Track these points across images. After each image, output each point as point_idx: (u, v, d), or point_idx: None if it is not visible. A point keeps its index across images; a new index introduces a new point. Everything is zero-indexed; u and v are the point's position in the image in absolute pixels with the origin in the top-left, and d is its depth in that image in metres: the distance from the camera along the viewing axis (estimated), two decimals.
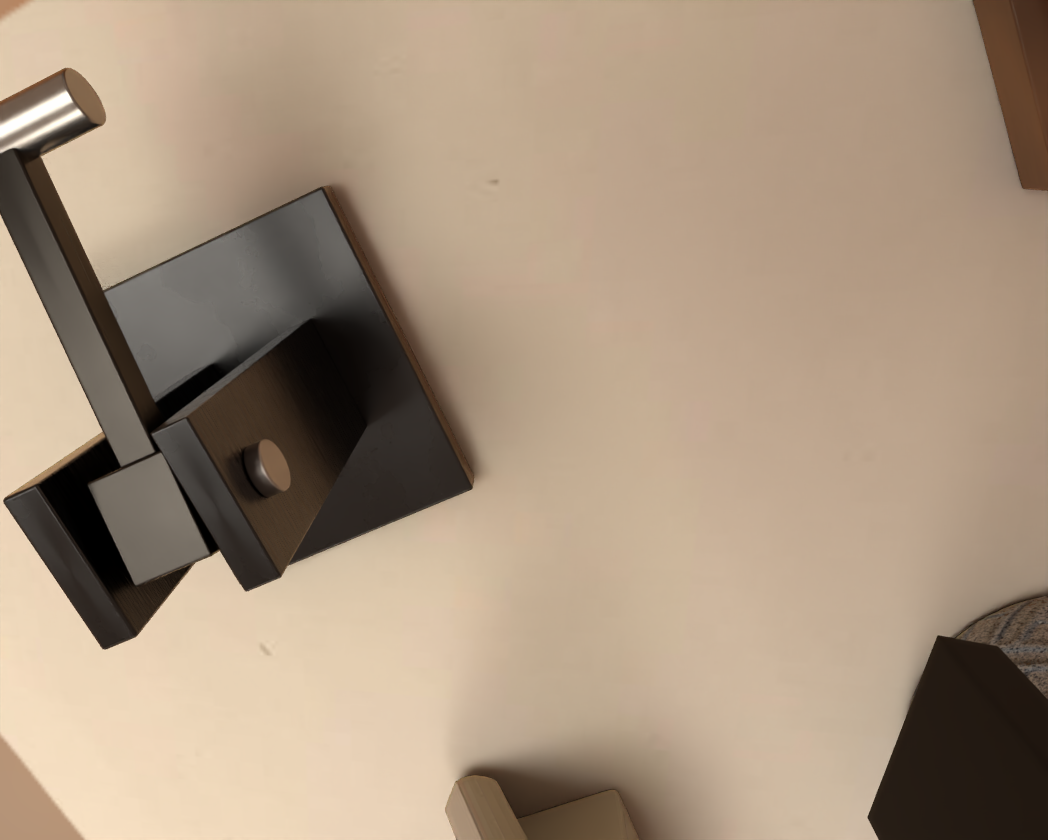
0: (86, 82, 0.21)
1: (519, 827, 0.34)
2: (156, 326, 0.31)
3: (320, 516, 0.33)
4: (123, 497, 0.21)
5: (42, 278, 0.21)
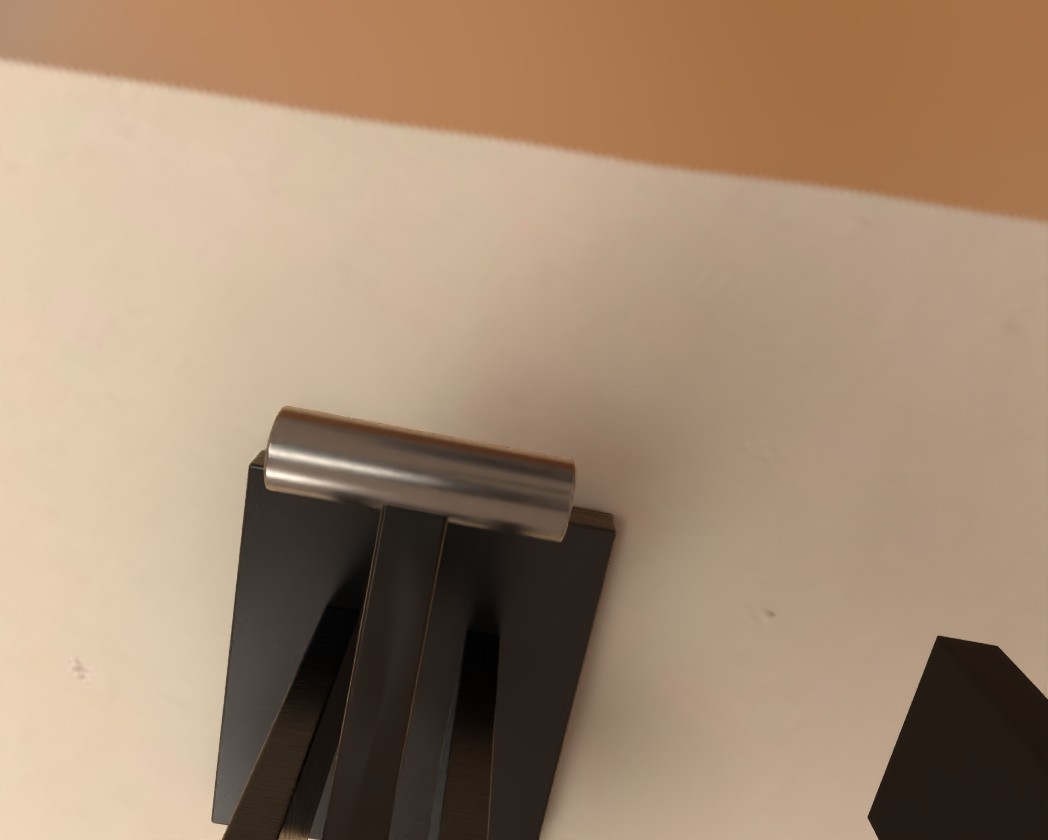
0: None
1: None
2: (328, 542, 0.24)
3: None
4: None
5: (368, 686, 0.14)
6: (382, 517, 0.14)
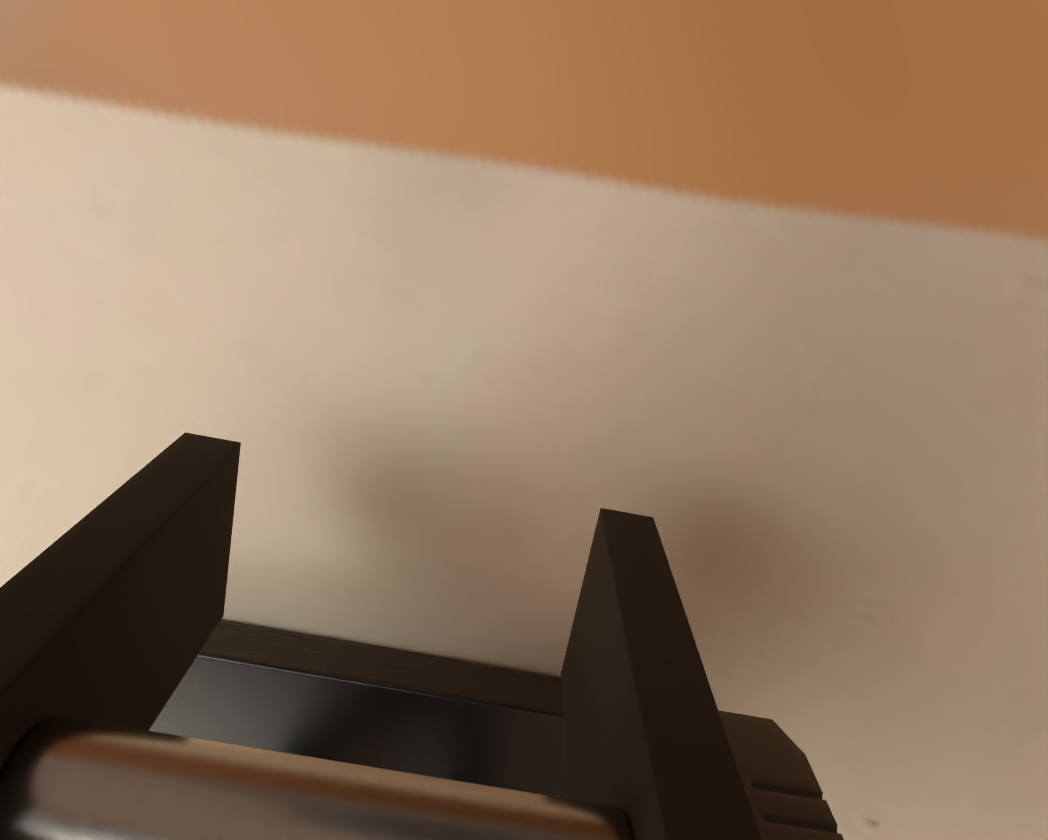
0: None
1: None
2: None
3: None
4: None
5: None
6: None
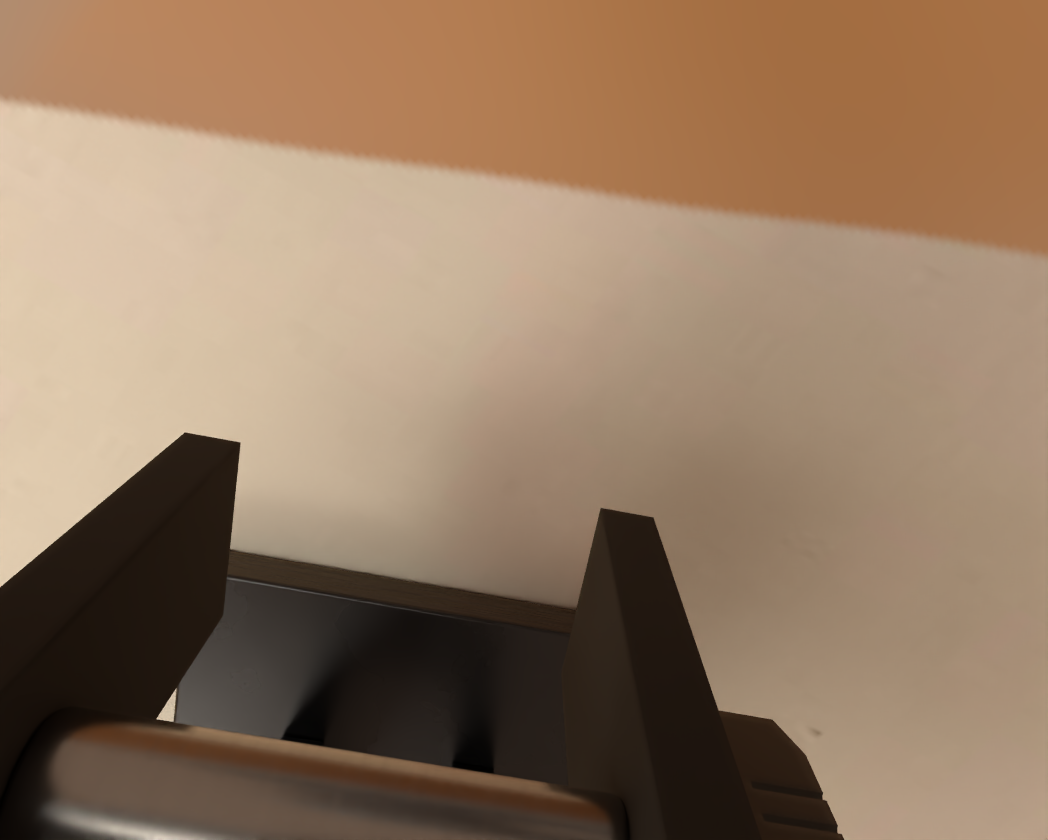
0: None
1: None
2: (285, 659, 0.19)
3: None
4: None
5: None
6: None
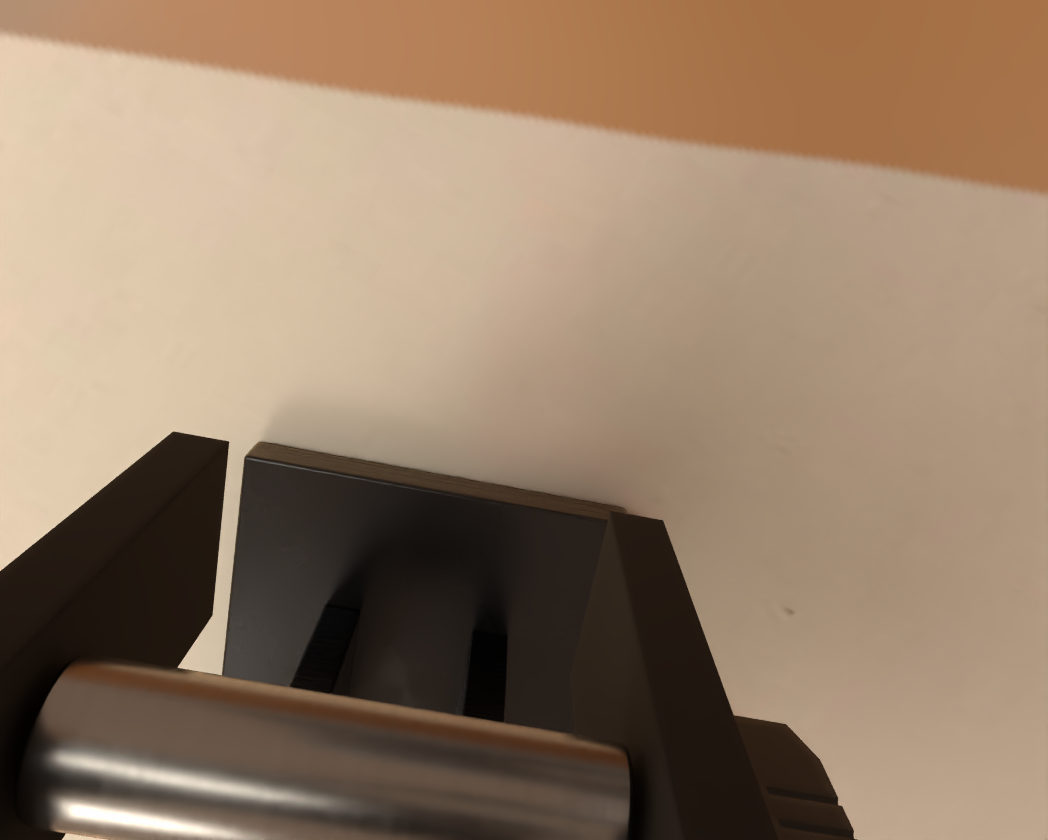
0: None
1: None
2: (328, 537, 0.23)
3: None
4: None
5: None
6: None
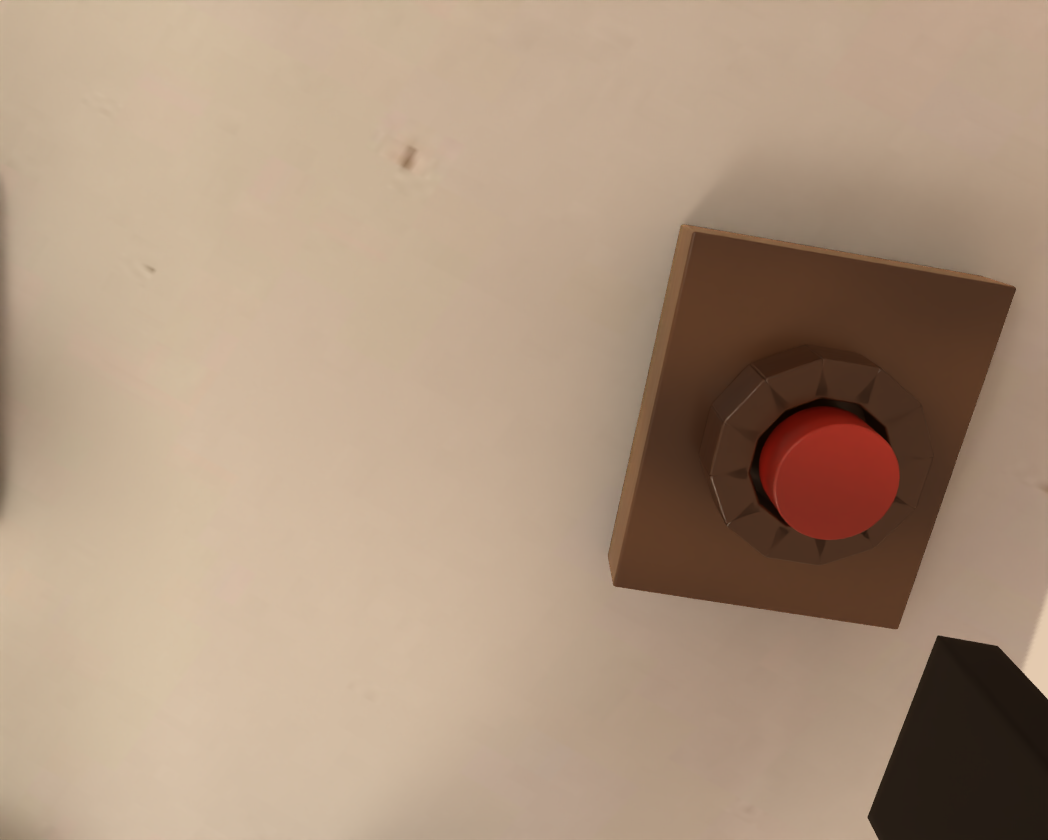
0: None
1: None
2: None
3: None
4: None
5: None
6: None
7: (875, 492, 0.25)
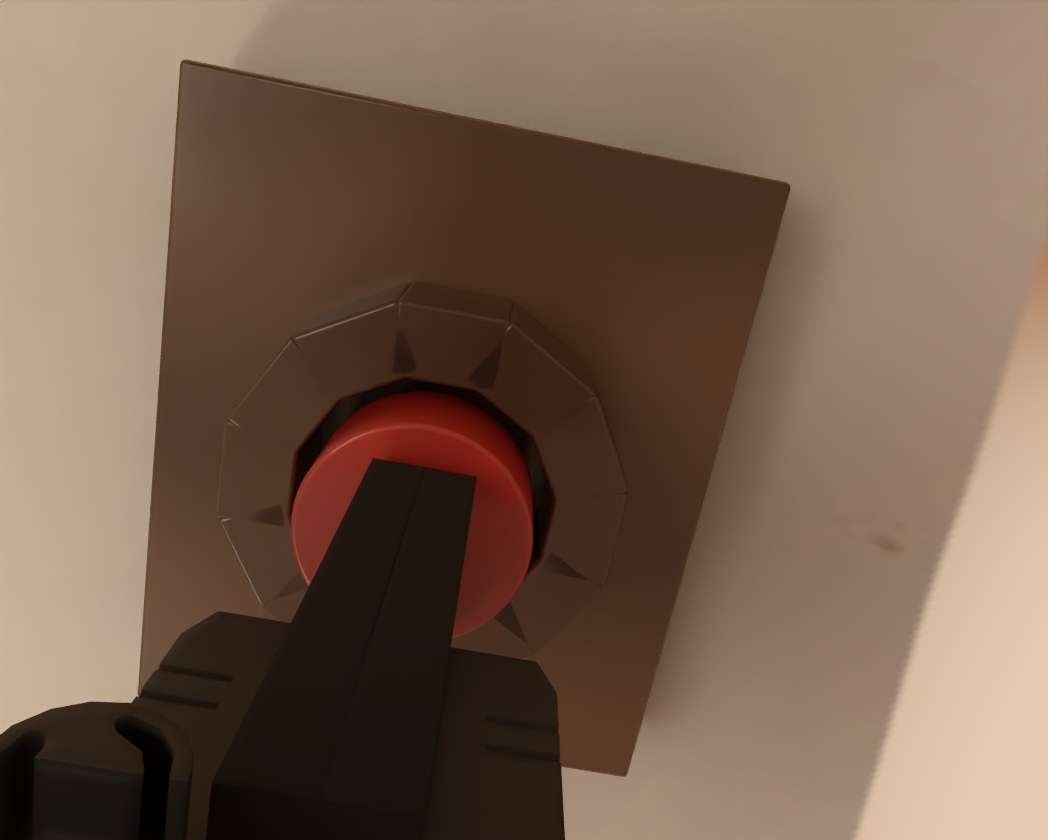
0: None
1: None
2: None
3: None
4: None
5: None
6: None
7: (487, 557, 0.13)
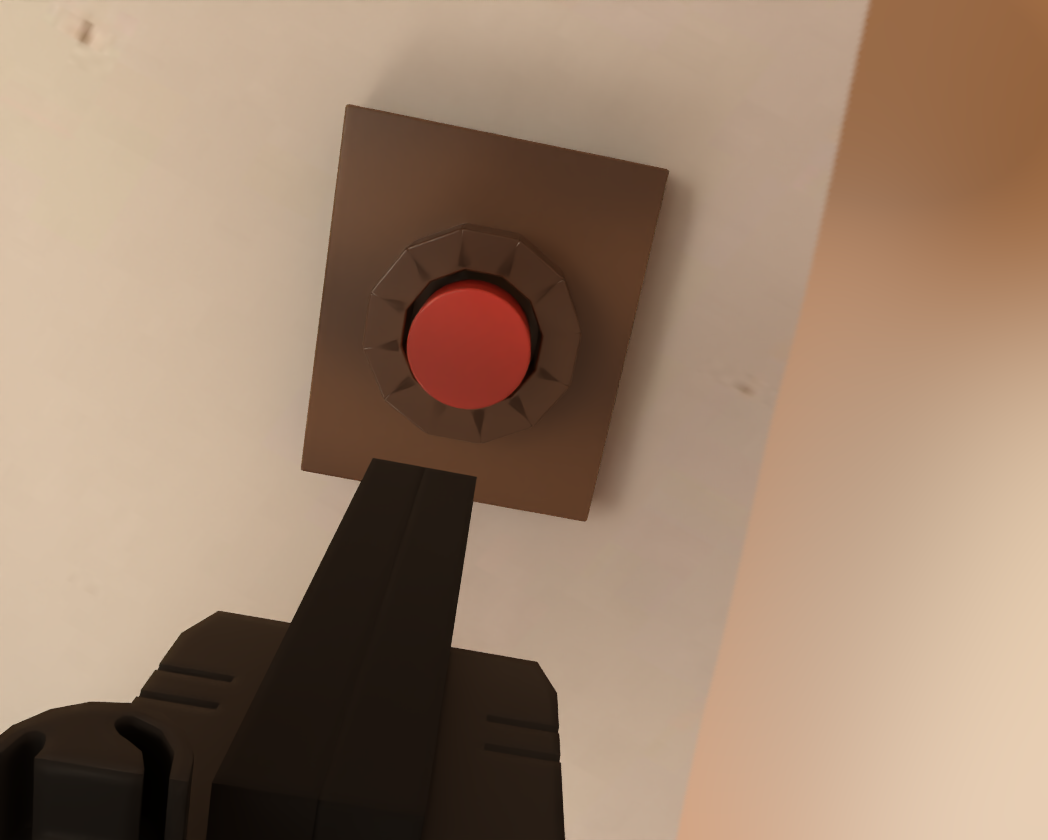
0: None
1: None
2: None
3: None
4: None
5: None
6: None
7: (507, 360, 0.25)
